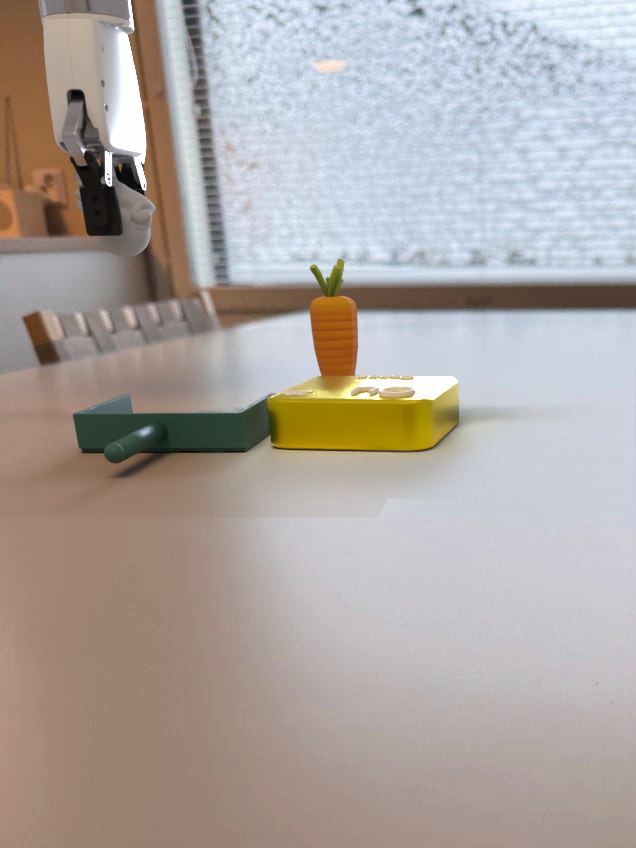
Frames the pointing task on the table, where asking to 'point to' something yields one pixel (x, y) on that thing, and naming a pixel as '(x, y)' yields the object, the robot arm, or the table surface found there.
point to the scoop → (167, 429)
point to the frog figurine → (128, 221)
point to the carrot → (334, 326)
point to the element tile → (364, 413)
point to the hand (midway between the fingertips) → (120, 233)
